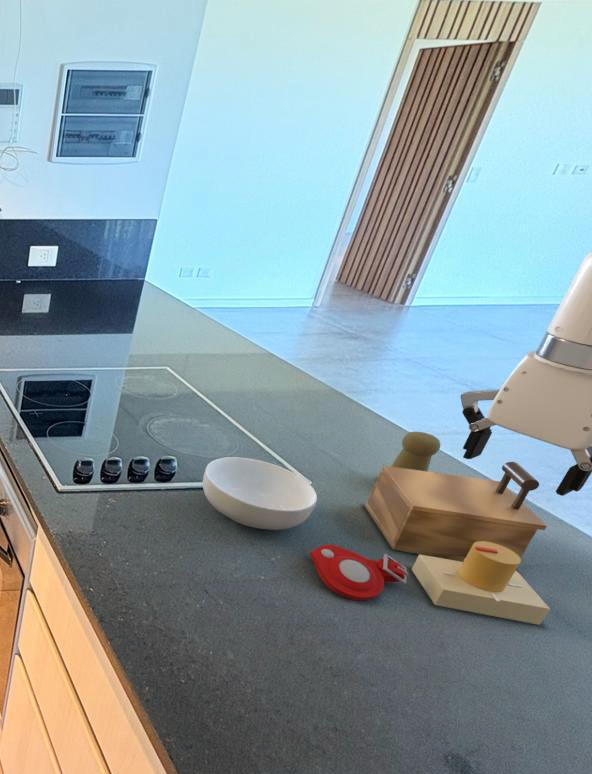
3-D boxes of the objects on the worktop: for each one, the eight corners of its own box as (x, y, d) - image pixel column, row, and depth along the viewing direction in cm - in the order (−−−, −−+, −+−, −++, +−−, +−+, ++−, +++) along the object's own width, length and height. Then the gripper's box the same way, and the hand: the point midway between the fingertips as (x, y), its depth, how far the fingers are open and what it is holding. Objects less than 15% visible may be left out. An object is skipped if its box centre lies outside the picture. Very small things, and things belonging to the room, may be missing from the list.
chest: (472, 523, 105) (492, 485, 102) (513, 570, 95) (537, 529, 91) (365, 506, 110) (380, 469, 106) (393, 549, 99) (411, 510, 96)
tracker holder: (363, 606, 87) (300, 552, 93) (349, 620, 90) (289, 567, 96) (423, 569, 89) (358, 519, 96) (408, 584, 92) (346, 535, 99)
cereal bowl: (316, 555, 98) (330, 519, 95) (201, 533, 103) (211, 498, 100) (292, 497, 112) (304, 465, 109) (192, 481, 118) (200, 449, 114)
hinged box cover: (498, 485, 102) (516, 452, 99) (544, 530, 91) (565, 494, 88) (381, 469, 106) (394, 437, 104) (411, 509, 96) (428, 475, 93)
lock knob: (493, 572, 90) (509, 543, 88) (512, 595, 86) (530, 565, 83) (451, 565, 91) (466, 536, 89) (468, 587, 87) (485, 558, 85)
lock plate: (505, 583, 92) (515, 567, 91) (542, 628, 84) (553, 611, 83) (409, 567, 96) (417, 550, 94) (436, 608, 88) (445, 591, 86)
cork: (374, 476, 119) (396, 426, 114) (409, 478, 118) (432, 428, 113) (393, 494, 113) (417, 442, 108) (429, 496, 113) (455, 444, 108)
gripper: (703, 373, 68) (619, 500, 76) (507, 327, 82) (453, 439, 90) (676, 385, 65) (591, 516, 73) (477, 335, 79) (424, 450, 87)
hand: (515, 473), depth 82 cm, fingers open, 9 cm apart
